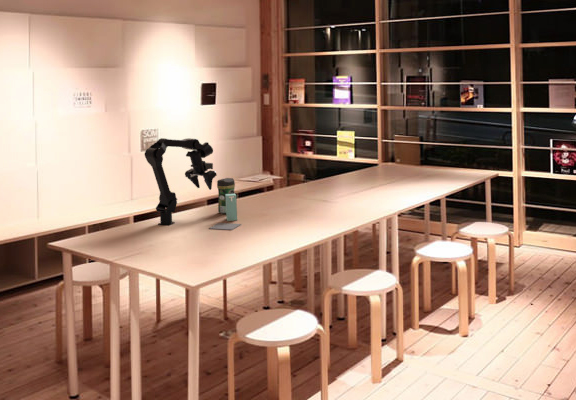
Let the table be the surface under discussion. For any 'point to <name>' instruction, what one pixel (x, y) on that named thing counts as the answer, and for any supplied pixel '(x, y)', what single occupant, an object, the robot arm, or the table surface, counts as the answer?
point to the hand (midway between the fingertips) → (204, 188)
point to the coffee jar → (224, 192)
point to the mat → (225, 226)
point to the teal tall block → (231, 207)
